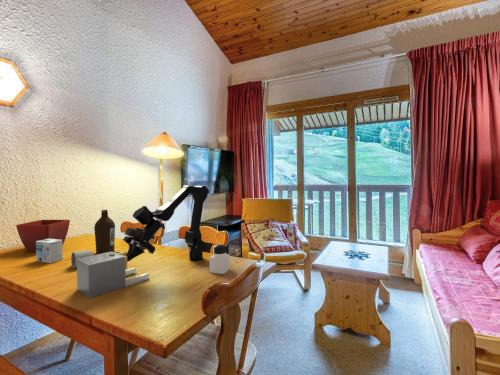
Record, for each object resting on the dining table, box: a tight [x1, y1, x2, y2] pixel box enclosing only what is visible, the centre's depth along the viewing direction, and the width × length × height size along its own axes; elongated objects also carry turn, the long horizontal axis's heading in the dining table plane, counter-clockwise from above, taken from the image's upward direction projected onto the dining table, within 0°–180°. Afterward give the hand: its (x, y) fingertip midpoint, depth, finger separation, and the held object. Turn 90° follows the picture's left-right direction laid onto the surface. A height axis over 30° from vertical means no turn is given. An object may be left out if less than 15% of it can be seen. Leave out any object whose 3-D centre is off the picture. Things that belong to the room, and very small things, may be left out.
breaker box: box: [76, 251, 150, 299], centre depth 104 cm, size 23×12×13 cm, turn 141°
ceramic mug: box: [70, 249, 94, 269], centre depth 128 cm, size 11×8×8 cm
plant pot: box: [15, 219, 71, 253], centre depth 158 cm, size 19×19×17 cm
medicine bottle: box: [209, 243, 231, 275], centre depth 119 cm, size 7×7×12 cm
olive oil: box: [93, 209, 116, 255], centre depth 150 cm, size 11×11×25 cm
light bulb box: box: [35, 239, 64, 264], centre depth 136 cm, size 11×7×11 cm, turn 73°
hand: (125, 261), depth 108 cm, fingers closed
